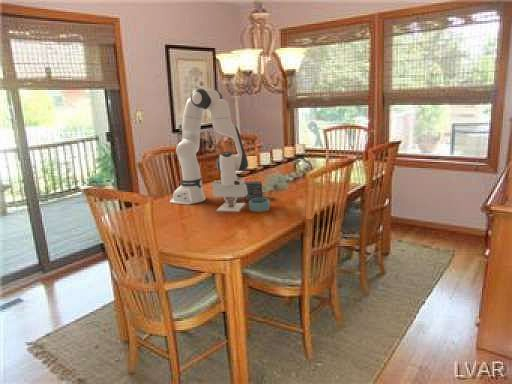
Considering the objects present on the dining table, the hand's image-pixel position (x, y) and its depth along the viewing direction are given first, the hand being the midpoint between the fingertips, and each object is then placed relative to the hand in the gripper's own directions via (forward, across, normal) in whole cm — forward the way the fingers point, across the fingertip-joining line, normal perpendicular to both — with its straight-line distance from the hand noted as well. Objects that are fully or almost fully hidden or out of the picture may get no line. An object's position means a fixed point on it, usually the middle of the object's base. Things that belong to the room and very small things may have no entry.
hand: (231, 203), depth 228 cm
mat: (+3, 0, 0) cm, 3 cm away
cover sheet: (+2, 0, 0) cm, 2 cm away
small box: (+3, +8, +19) cm, 21 cm away
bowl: (+3, +17, 0) cm, 17 cm away
